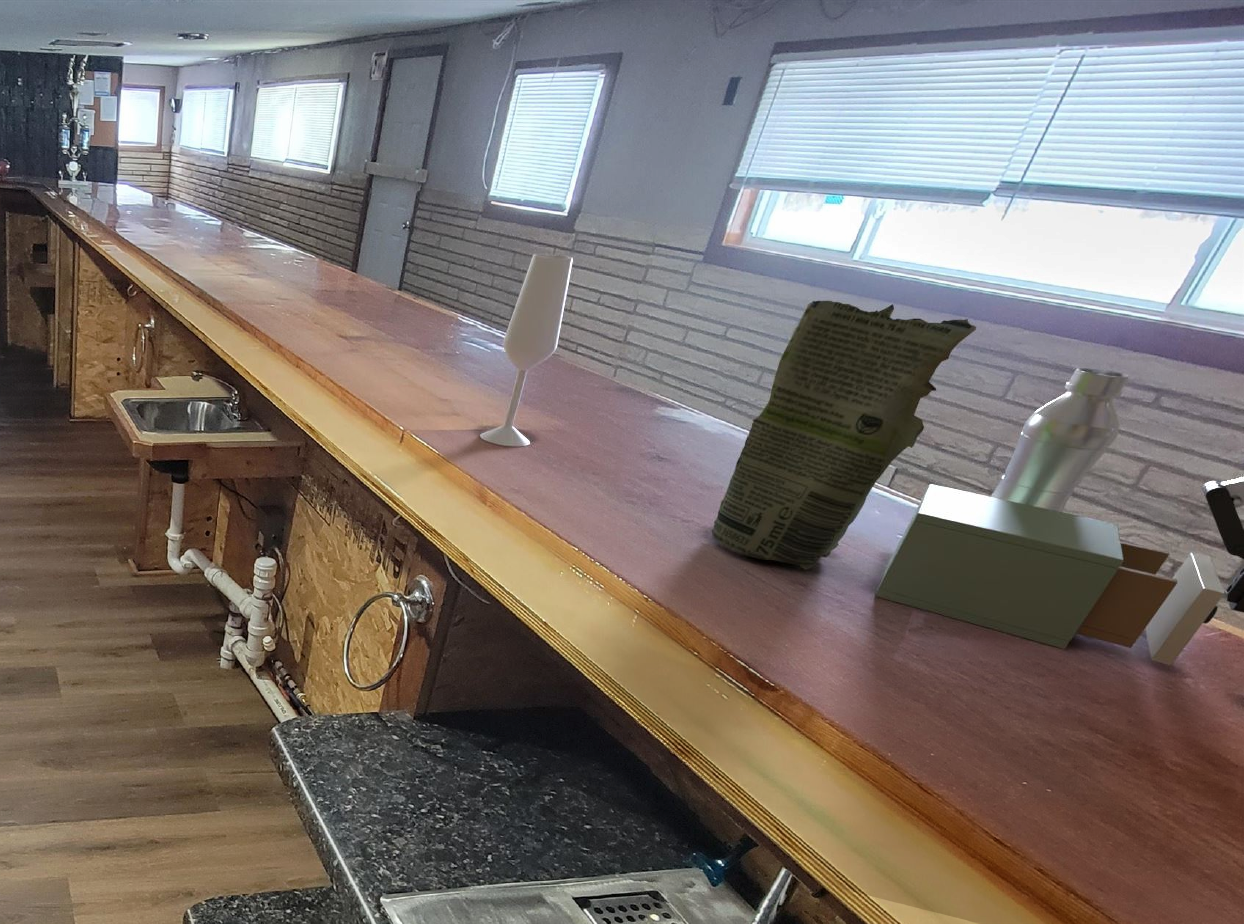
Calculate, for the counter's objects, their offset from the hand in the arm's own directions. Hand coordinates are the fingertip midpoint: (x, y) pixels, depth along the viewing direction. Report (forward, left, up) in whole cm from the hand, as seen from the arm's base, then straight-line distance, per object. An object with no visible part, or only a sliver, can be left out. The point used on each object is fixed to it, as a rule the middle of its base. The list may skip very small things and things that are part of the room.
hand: (1242, 609), depth 73 cm
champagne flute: (+67, -16, -6) cm, 70 cm away
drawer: (+8, 0, -4) cm, 9 cm away
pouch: (+31, +1, -6) cm, 32 cm away
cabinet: (+15, 0, -5) cm, 16 cm away
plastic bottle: (+14, -13, -6) cm, 20 cm away
